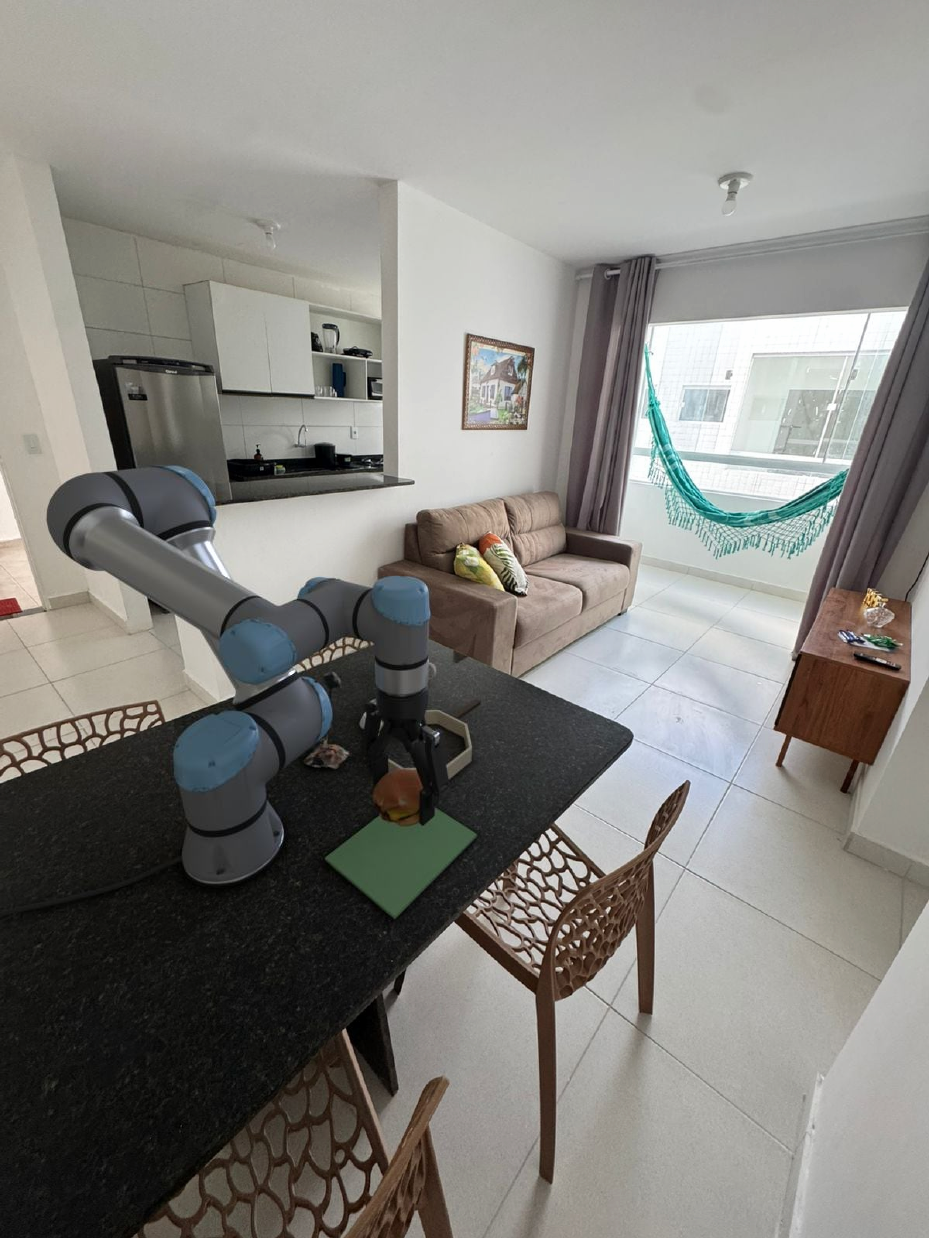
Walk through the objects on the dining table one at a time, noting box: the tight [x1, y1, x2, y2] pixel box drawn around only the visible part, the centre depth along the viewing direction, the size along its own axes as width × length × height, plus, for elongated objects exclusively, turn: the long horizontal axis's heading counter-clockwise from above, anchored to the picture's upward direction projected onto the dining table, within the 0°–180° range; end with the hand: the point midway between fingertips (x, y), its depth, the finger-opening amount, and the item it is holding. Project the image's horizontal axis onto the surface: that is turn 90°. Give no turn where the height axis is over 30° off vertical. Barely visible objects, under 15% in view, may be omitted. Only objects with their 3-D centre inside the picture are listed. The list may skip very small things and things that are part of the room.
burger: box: [372, 769, 423, 827], centre depth 81 cm, size 10×9×5 cm
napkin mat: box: [324, 807, 478, 920], centre depth 86 cm, size 20×16×1 cm
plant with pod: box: [303, 671, 353, 770], centre depth 102 cm, size 8×11×20 cm
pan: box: [378, 698, 482, 780], centre depth 113 cm, size 30×20×4 cm
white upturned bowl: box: [359, 711, 383, 730], centre depth 117 cm, size 5×3×5 cm
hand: (403, 804), depth 82 cm, fingers closed on burger, 9 cm apart
